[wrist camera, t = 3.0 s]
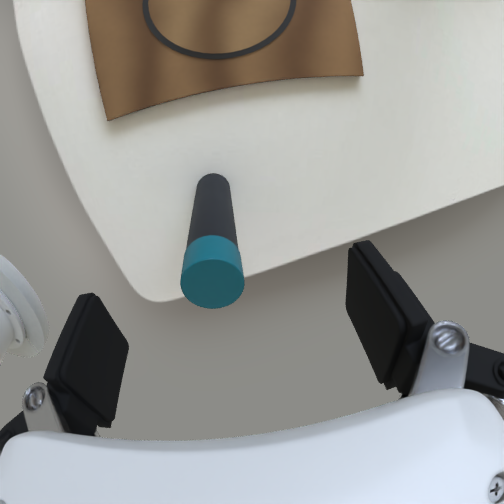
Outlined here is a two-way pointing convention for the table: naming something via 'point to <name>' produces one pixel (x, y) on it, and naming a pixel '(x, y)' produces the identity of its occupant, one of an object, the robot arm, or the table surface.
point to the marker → (212, 248)
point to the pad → (214, 46)
